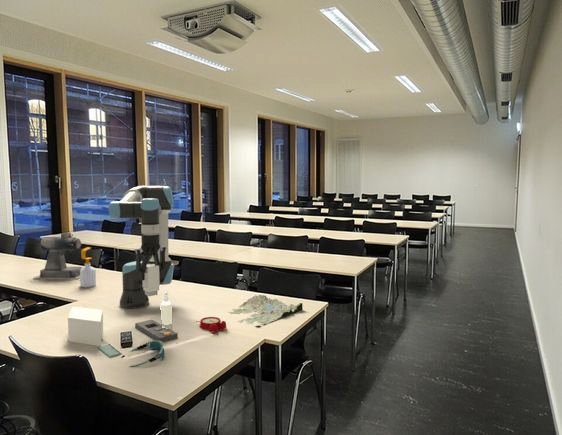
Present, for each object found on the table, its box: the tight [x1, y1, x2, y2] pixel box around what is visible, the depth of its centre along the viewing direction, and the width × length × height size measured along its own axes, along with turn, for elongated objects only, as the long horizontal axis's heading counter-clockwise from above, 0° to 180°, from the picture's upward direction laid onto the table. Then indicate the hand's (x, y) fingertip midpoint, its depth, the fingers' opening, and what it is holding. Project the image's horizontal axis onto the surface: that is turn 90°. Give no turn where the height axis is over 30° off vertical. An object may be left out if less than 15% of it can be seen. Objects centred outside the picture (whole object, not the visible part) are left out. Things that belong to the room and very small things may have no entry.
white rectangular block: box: [67, 306, 104, 347], centre depth 179 cm, size 14×29×10 cm, turn 47°
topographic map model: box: [227, 294, 304, 329], centre depth 216 cm, size 36×29×5 cm
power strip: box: [134, 319, 179, 343], centre depth 185 cm, size 30×8×4 cm, turn 43°
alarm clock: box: [195, 316, 227, 334], centre depth 190 cm, size 10×6×15 cm
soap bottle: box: [79, 246, 97, 288], centre depth 266 cm, size 9×9×25 cm
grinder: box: [32, 232, 83, 281], centre depth 291 cm, size 18×31×31 cm, turn 91°
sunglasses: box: [121, 339, 166, 368], centre depth 159 cm, size 14×15×5 cm
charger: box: [143, 264, 160, 297], centre depth 184 cm, size 5×5×13 cm
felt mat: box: [97, 343, 123, 358], centre depth 167 cm, size 12×12×1 cm
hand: (151, 286), depth 184 cm, fingers closed on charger, 5 cm apart
